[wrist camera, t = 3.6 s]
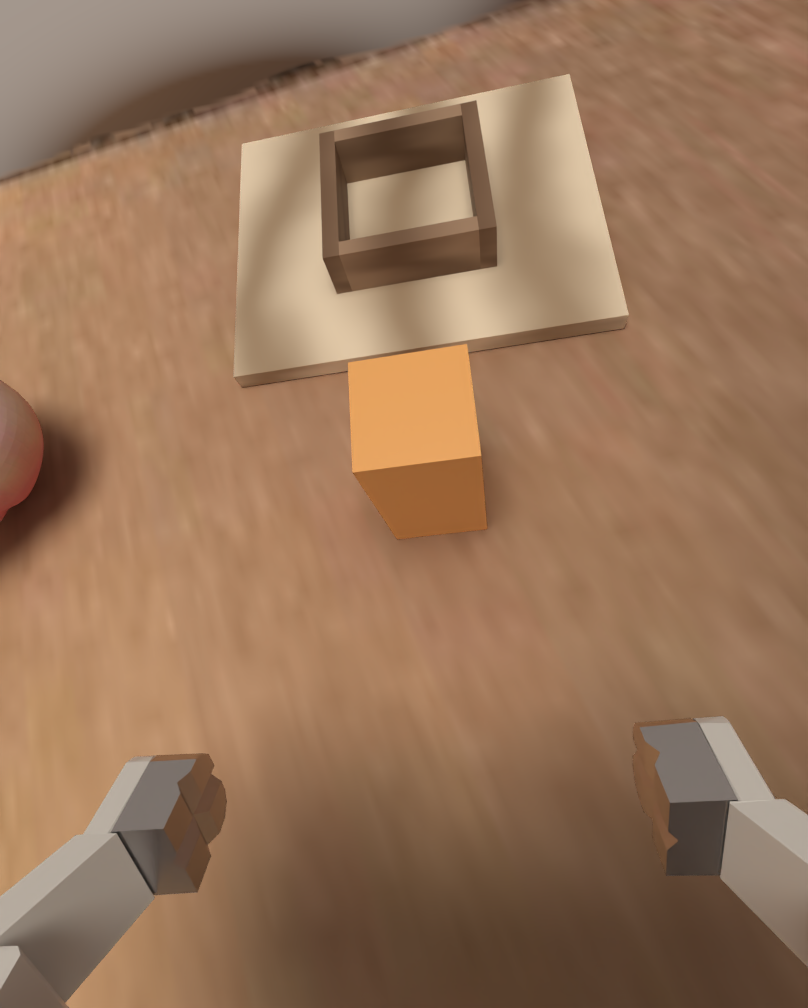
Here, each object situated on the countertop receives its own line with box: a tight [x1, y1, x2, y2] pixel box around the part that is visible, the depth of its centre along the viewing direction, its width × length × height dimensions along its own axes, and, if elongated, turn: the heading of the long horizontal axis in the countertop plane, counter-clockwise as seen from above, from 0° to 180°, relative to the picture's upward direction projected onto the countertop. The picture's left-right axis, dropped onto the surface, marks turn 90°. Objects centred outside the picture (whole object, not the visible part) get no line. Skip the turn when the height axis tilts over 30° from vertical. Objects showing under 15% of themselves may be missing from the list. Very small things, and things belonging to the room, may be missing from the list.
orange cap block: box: [348, 344, 487, 539], centre depth 22 cm, size 4×4×8 cm
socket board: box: [234, 74, 629, 387], centre depth 29 cm, size 19×16×4 cm
